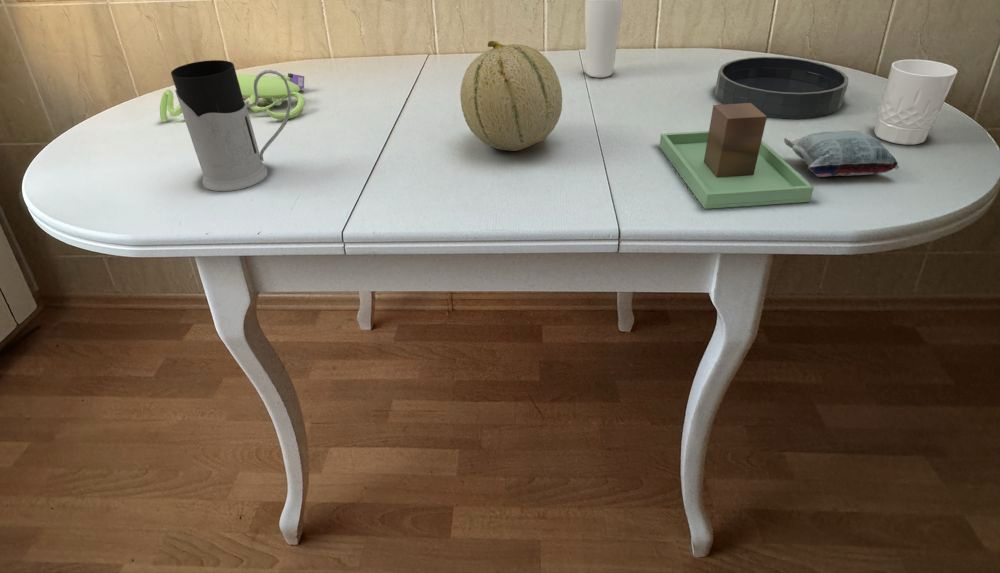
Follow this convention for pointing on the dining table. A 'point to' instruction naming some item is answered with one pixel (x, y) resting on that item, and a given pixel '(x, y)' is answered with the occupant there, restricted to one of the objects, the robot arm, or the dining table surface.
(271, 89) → the green coiled cable
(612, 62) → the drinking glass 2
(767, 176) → the tray
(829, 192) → the dining table surface
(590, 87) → the dining table surface
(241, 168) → the glass holder
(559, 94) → the cantaloupe
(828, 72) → the pan
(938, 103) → the white cup
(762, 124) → the block
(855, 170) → the grey bean bag
